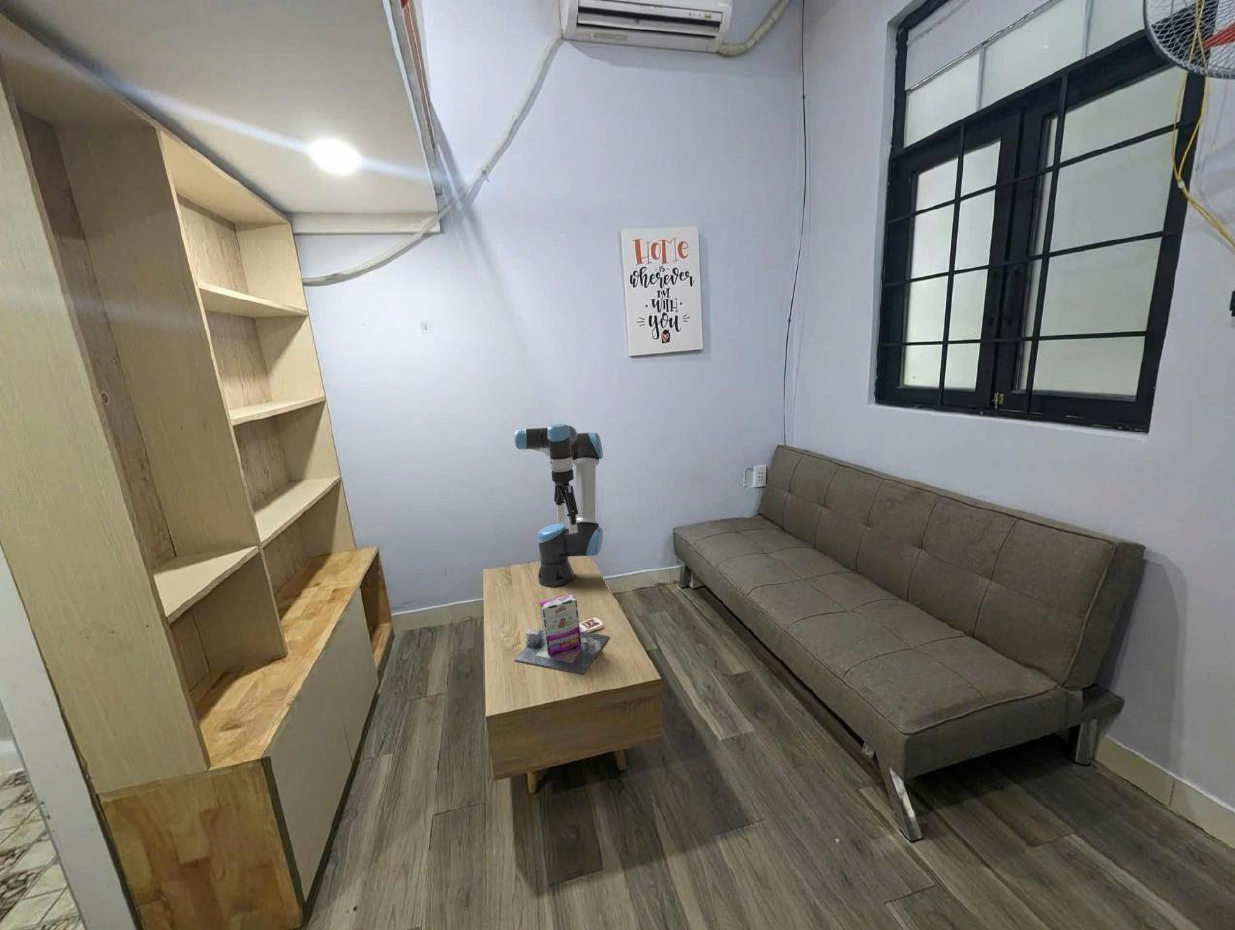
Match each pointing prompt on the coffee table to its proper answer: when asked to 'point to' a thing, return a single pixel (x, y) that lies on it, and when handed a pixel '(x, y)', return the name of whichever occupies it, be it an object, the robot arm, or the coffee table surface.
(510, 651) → the coffee table surface
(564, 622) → the candy bar box
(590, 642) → the base
